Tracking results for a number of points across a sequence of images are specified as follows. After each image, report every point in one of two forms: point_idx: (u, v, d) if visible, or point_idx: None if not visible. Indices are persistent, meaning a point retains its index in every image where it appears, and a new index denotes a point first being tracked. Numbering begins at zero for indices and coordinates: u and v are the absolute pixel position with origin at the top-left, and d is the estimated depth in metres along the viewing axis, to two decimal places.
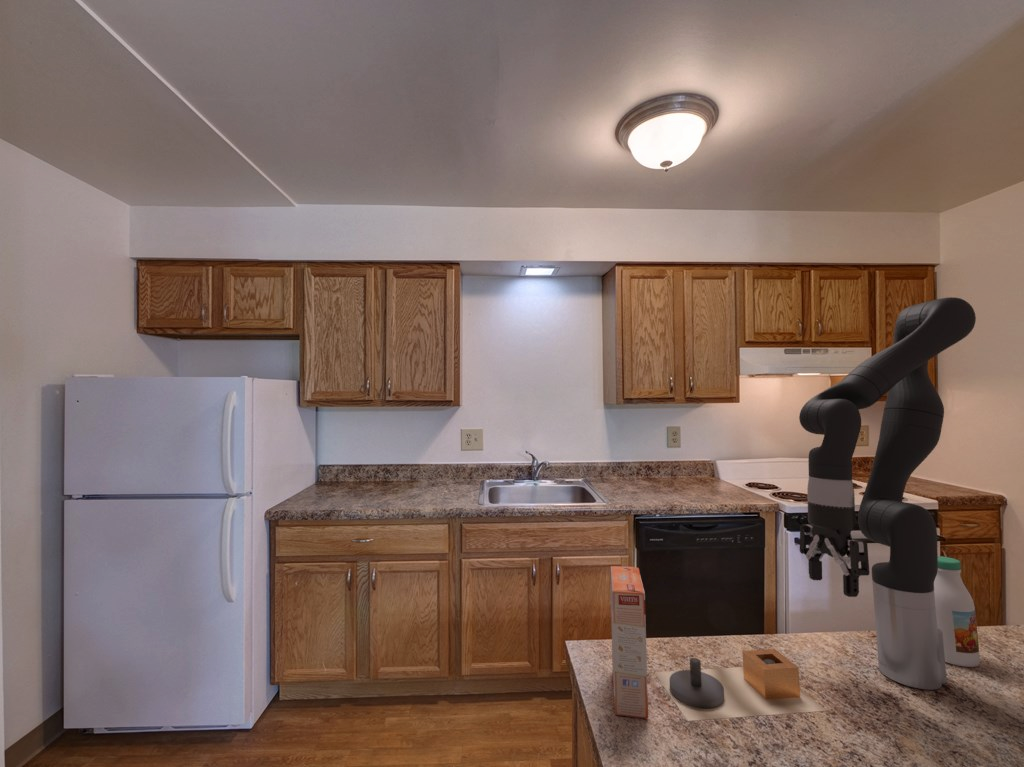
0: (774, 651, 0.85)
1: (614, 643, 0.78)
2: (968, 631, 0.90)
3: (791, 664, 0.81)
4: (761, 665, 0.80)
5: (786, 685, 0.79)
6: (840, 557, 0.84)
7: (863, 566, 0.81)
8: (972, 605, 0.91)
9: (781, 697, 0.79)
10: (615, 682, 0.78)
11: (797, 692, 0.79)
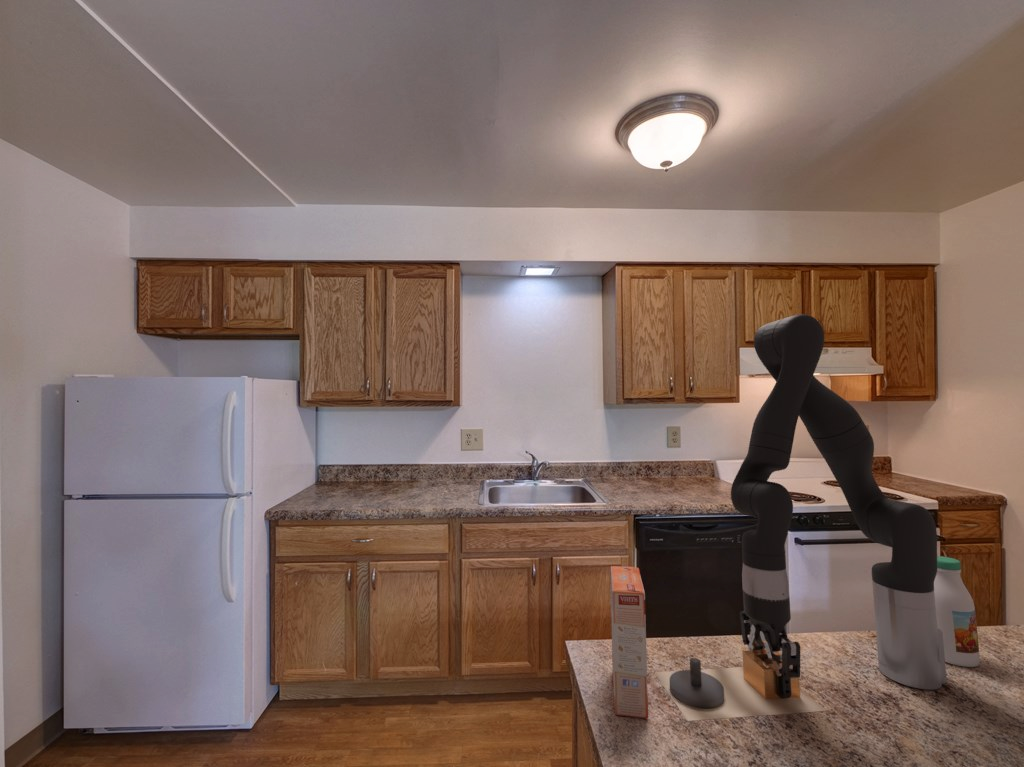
0: None
1: (614, 643, 0.78)
2: (968, 631, 0.90)
3: None
4: (761, 665, 0.80)
5: None
6: (773, 655, 0.79)
7: (794, 668, 0.77)
8: (972, 605, 0.91)
9: None
10: (615, 682, 0.78)
11: (797, 692, 0.79)
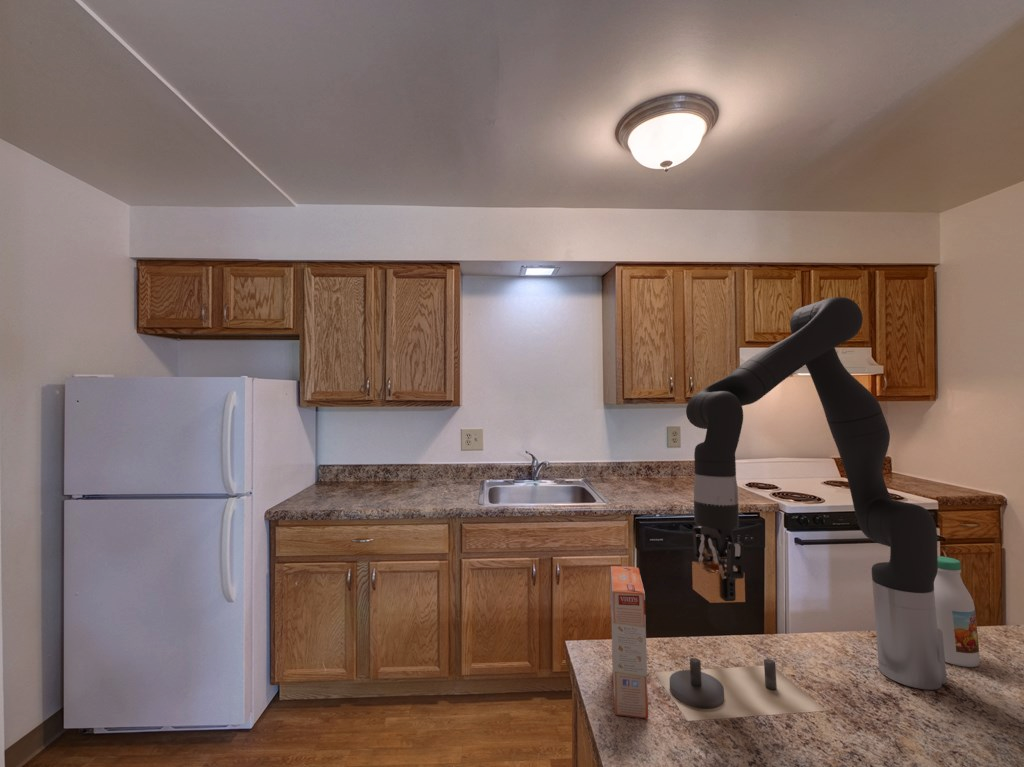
0: None
1: (614, 643, 0.78)
2: (968, 631, 0.90)
3: None
4: (707, 570, 0.81)
5: None
6: (719, 559, 0.80)
7: (738, 569, 0.77)
8: (972, 605, 0.91)
9: (726, 601, 0.79)
10: (615, 682, 0.78)
11: (742, 597, 0.80)
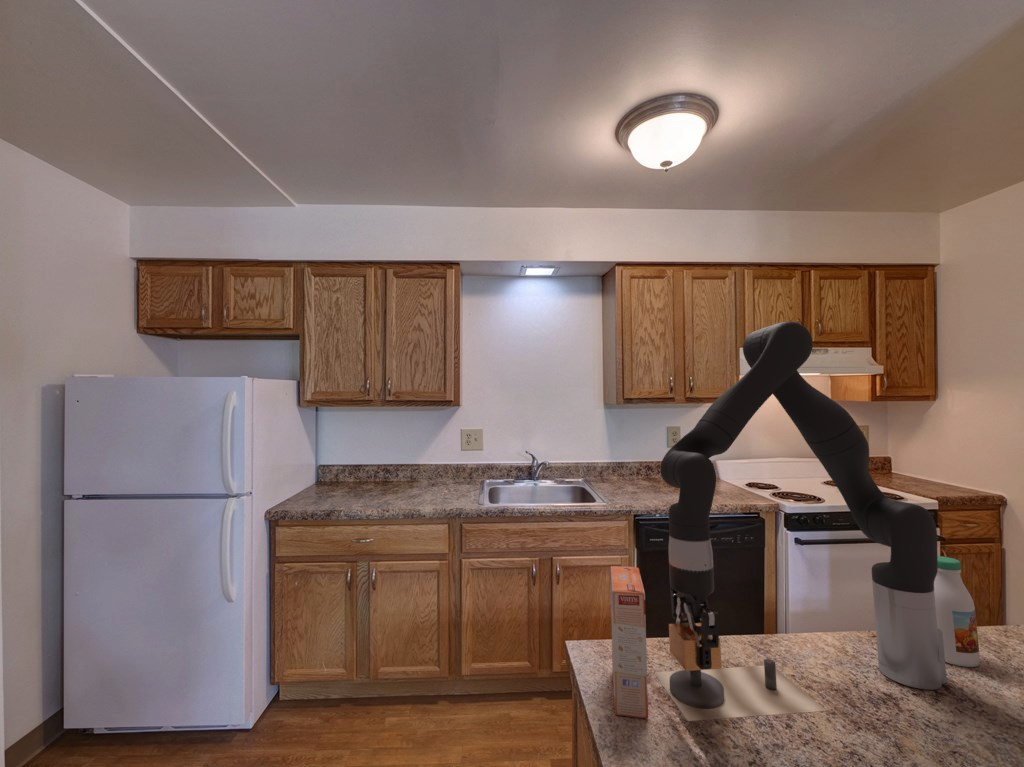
0: (700, 624, 0.84)
1: (614, 643, 0.78)
2: (968, 631, 0.90)
3: None
4: (683, 637, 0.80)
5: None
6: (694, 626, 0.78)
7: (713, 638, 0.76)
8: (972, 605, 0.91)
9: None
10: (615, 682, 0.78)
11: (718, 663, 0.78)
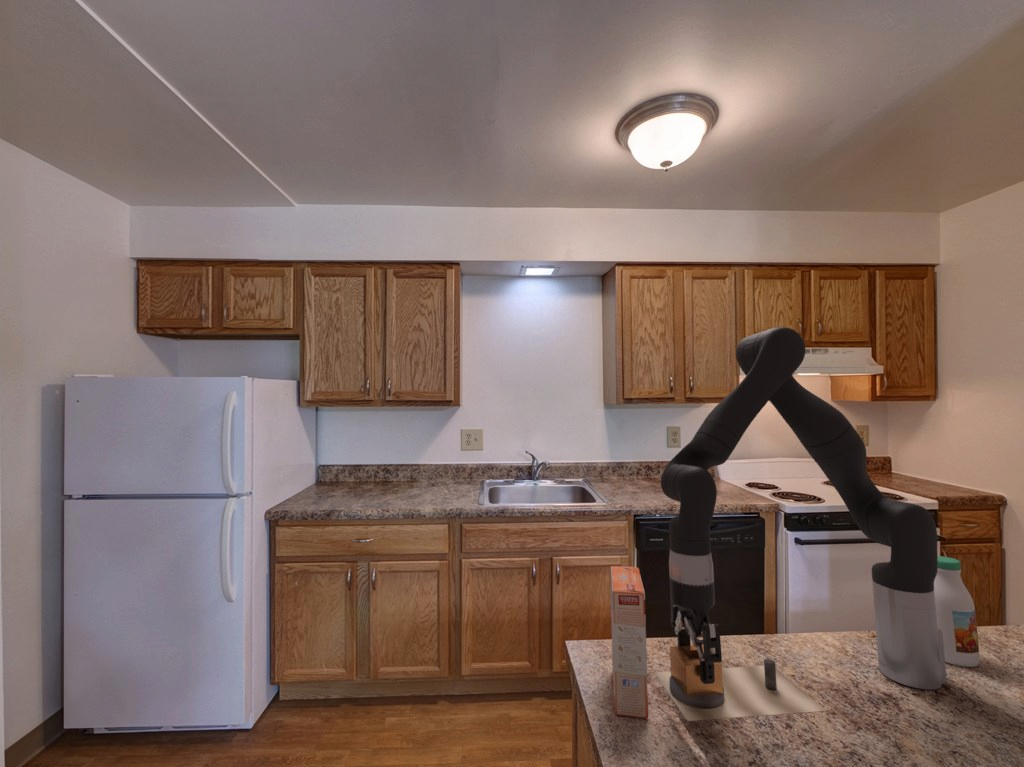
0: (702, 647, 0.84)
1: (614, 643, 0.78)
2: (968, 631, 0.90)
3: None
4: (684, 661, 0.79)
5: None
6: (696, 640, 0.78)
7: (716, 652, 0.75)
8: (972, 605, 0.91)
9: (703, 693, 0.78)
10: (615, 682, 0.78)
11: (719, 688, 0.78)
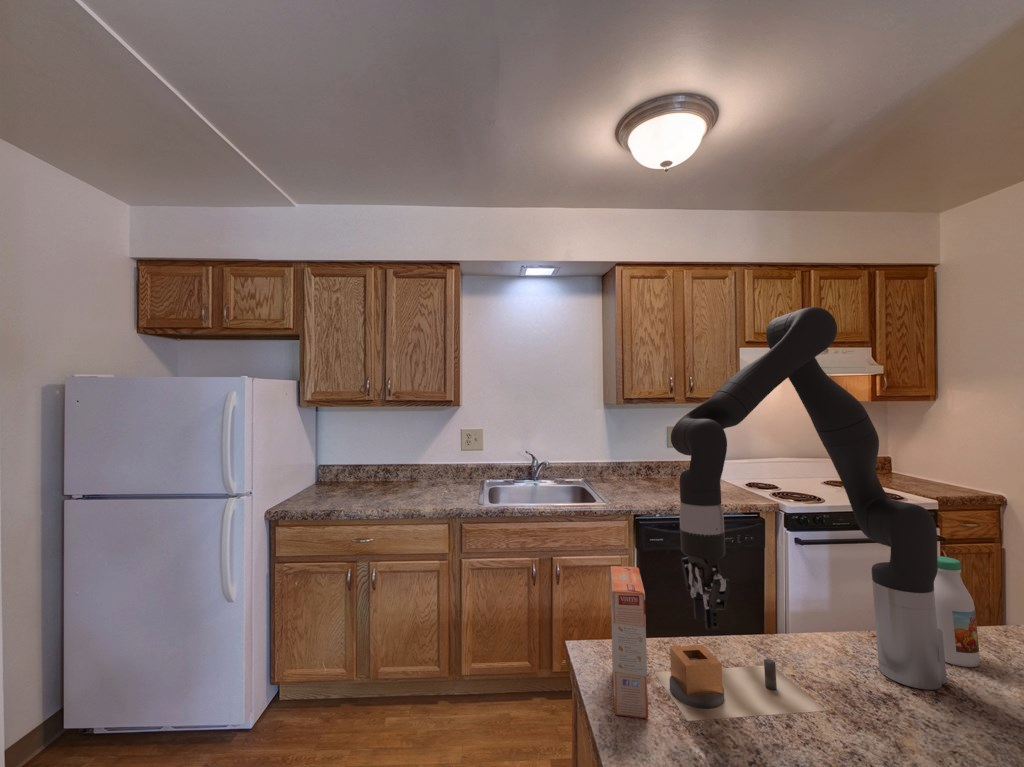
0: (702, 647, 0.84)
1: (614, 643, 0.78)
2: (968, 631, 0.90)
3: (715, 660, 0.80)
4: (684, 661, 0.79)
5: (708, 681, 0.78)
6: (704, 591, 0.80)
7: (721, 601, 0.78)
8: (972, 605, 0.91)
9: (703, 693, 0.78)
10: (615, 682, 0.78)
11: (719, 688, 0.78)
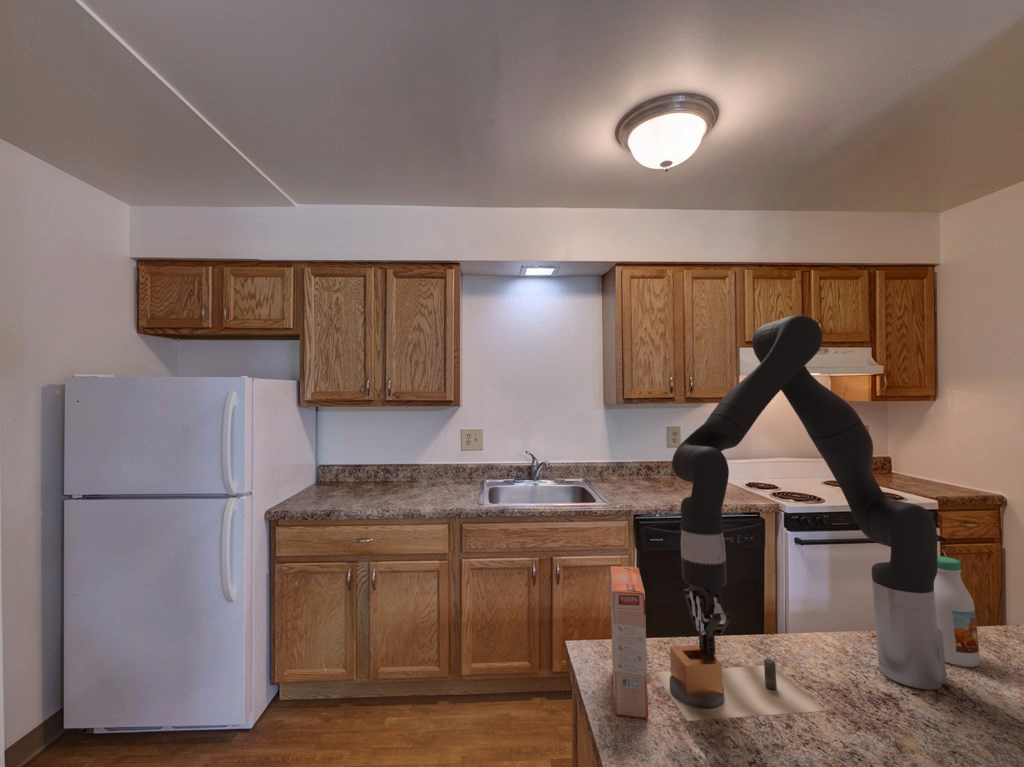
0: None
1: (614, 643, 0.78)
2: (968, 631, 0.90)
3: (715, 660, 0.80)
4: (684, 661, 0.79)
5: (708, 681, 0.78)
6: (702, 619, 0.80)
7: None
8: (972, 605, 0.91)
9: (703, 693, 0.78)
10: (615, 682, 0.78)
11: (719, 688, 0.78)
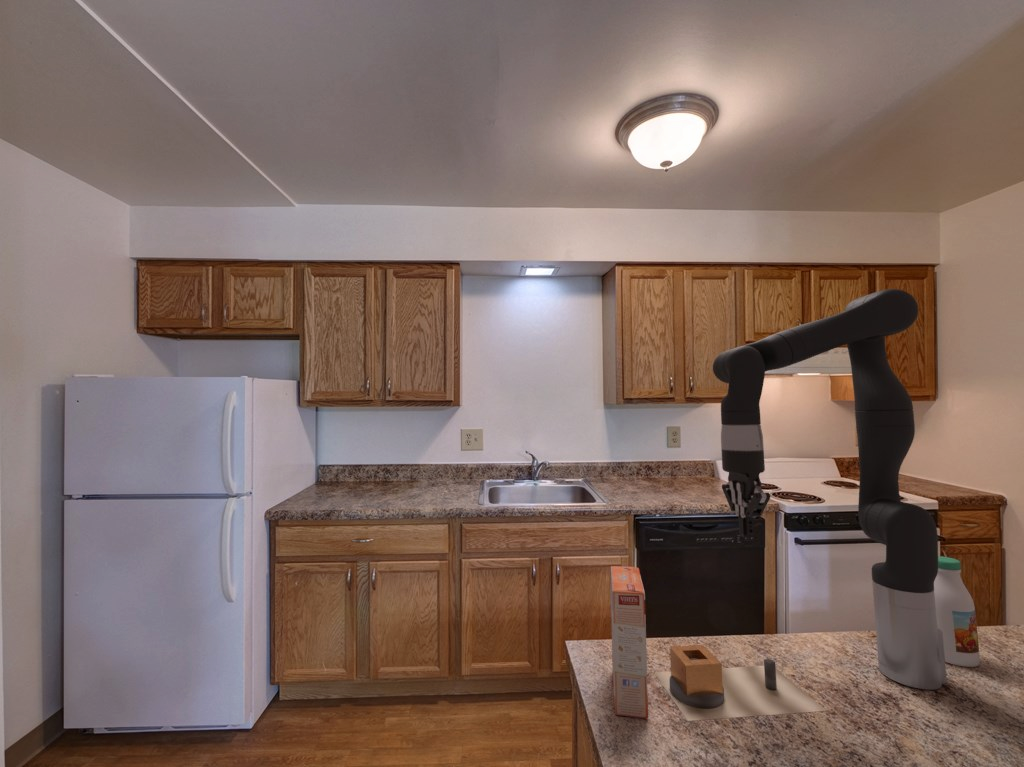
0: (702, 647, 0.84)
1: (614, 643, 0.78)
2: (968, 631, 0.90)
3: (715, 660, 0.80)
4: (684, 661, 0.79)
5: (708, 681, 0.78)
6: (743, 503, 0.88)
7: (758, 509, 0.86)
8: (972, 605, 0.91)
9: (703, 693, 0.78)
10: (615, 682, 0.78)
11: (719, 688, 0.78)
